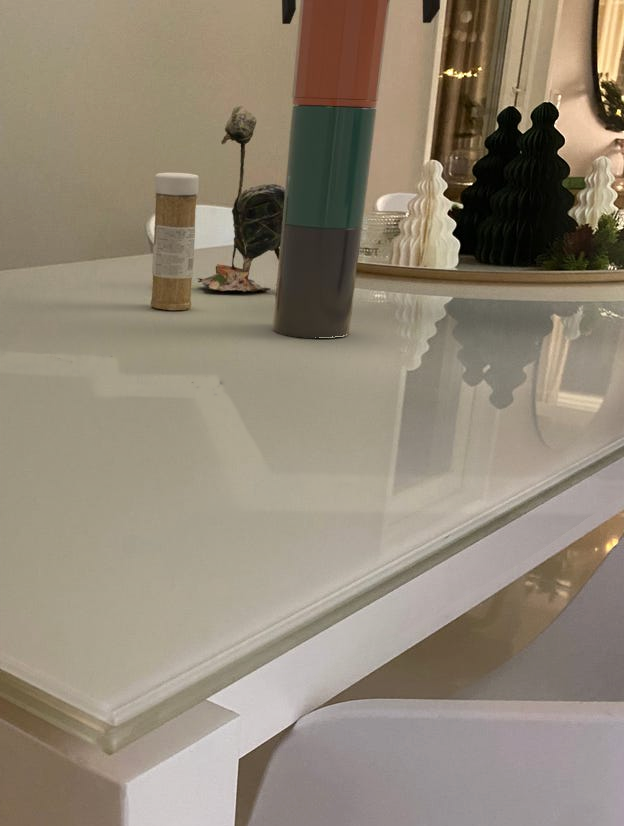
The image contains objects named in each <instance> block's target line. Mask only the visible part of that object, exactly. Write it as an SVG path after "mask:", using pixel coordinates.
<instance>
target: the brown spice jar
mask: <svg viewBox="0 0 624 826" xmlns="http://www.w3.org/2000/svg"><path fill="white" fill-rule="evenodd" d="M199 180H200V179H199V175H197V174H193V173H188V172H159V173H156V174H155V176H154V193H155V196H154V198H155V208H154V209H155V210H154V230H153V231H154V233H153V247H152V265H151V266H152V267H151V268H152V270H151V274H152V285H151V286H152V287H151V299H150V306H151V307H152V308H154V309H158V310H164V311H186V310H189V309H190V308H191V307H192V299H191V297H192V281H193V276H194V275H193V274H194V260H195V242H196V241H195V240H196V239H195V238H196V209H197V208H196V207H197V199H198V196H197V195H198V194H199V185H200V184H199V183H200V182H199Z"/></svg>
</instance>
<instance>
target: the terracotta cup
mask: <svg viewBox="0 0 624 826" xmlns="http://www.w3.org/2000/svg"><path fill="white" fill-rule="evenodd" d="M390 2H391V0H300V3H299V14H298V15H299V16H298V24H297V25H298V26H297V36H296V37H297V38H296V46H295V47H296V49H295V60H294V70H293V81H292V94H291V98H292V100H291V101H292V103H291V105H292V106H298V105H314V106H342V107H364V108H372V109H377V104H378V103H377V102H378V101H379V92H380V85H381V84H380V83H381V76H382V67H383V61H384V50H385V42H386V37H387V36H386V34H387V28H388V27H387V26H388V18H389V10H390Z"/></svg>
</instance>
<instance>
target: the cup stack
mask: <svg viewBox="0 0 624 826" xmlns="http://www.w3.org/2000/svg"><path fill="white" fill-rule="evenodd" d="M376 116H377V108H364V107H342V106H314V105H292V109H291V118H290V129H289V140H288V141H289V142H288V152H287V164H286V173H285V174H286V175H285V176H286V177H285V187H284V189H285V197H284V208H283V219H282V230H281V242H280V247H279V249H280V253H279V260H278V263H277V265H278V266H277V276H276V288H275V299H274V311H273V321H272V331H273V332H274V333H276V334H280V335H283V336H287V337H293V338H299V337H302V338H301V339H311V338H315V337H316V338H319V337H332V336H333V337H335V336H343V335H346V334H349V335H350V330H351V322H352V315H353V307H354V297H355V290H356V280H357V272H358V265H359V256H360V249H361V242H362V241H361V239H362V234H363V233H362V231H363V223H364V215H365V207H366V200H367V191H368V183H369V175H370V165H371V158H372V150H373V142H374V133H375V125H376Z"/></svg>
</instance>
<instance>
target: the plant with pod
mask: <svg viewBox="0 0 624 826" xmlns="http://www.w3.org/2000/svg"><path fill="white" fill-rule="evenodd" d="M230 115H231V116H230V117H229V119H228V120H227V122H226V125H225V127H224V131H225V133H226V134H225V136H223V139H222V140H221V145H225V144H226V143H227V141H229V140H231V142H232V141H235V142H236V143H237V144H239V145H240V162H239V163H240V169H239V182H238V190H237V197H236V198H235V199H234V202H233V208H232V209H231V214H232V221H233V225H232V226H233V232H234V233H233V234H234V237H233V252H232V256H231V257H232V260H231V266H230V265H226V264H220V263H217V265H216V266H215V274H213V275H211V276H208V277H205V278H198V277H197V278H196V280H197V283H201V284H202V285H203V288H204V289H205V290H212V291H221V292H225V291H236V290H237V291H242V292H243V293H247V292H257V291H265V292H267V291H269V290H270V291H271V287H270V288H269V287H262V286H261V285H259V284H257V283H256V282H255V280H253V279H251V278H250V279H249V276H250V269H251V266H252V262H253V260H254V259H257V258H259V257H261V256H262V255H264V254H265V253H267V252H269V251H270V252H274V254H275V256H276V258H277V260H278V261H279V253H280V242H281V230H282V219H283V208H284V197H285V187H283V186H281V185H279V184H277V183H264V184H260V185H257V186H253V187H250V188H248V190H247V189H245V190H244V191H243V190H242V188H243V182H244V174H245V168H244V167H245V157H246V144H248V143H249V142H250V141H251V139H252V137H253V135H254V131H255V128H256V125H257V118H256V116H255V115H254V114H253V113H252V112H250V111H249V110H247V109H246V108H244V107H243V106H242V105H238V106H236V107H234V108H233V110H232V112H231V114H230ZM237 251H238V252H239V254H240V255H241V257H242V259H243V263H242V268H240V267H236V266H235V264H234V259H235V256H236V252H237Z"/></svg>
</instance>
